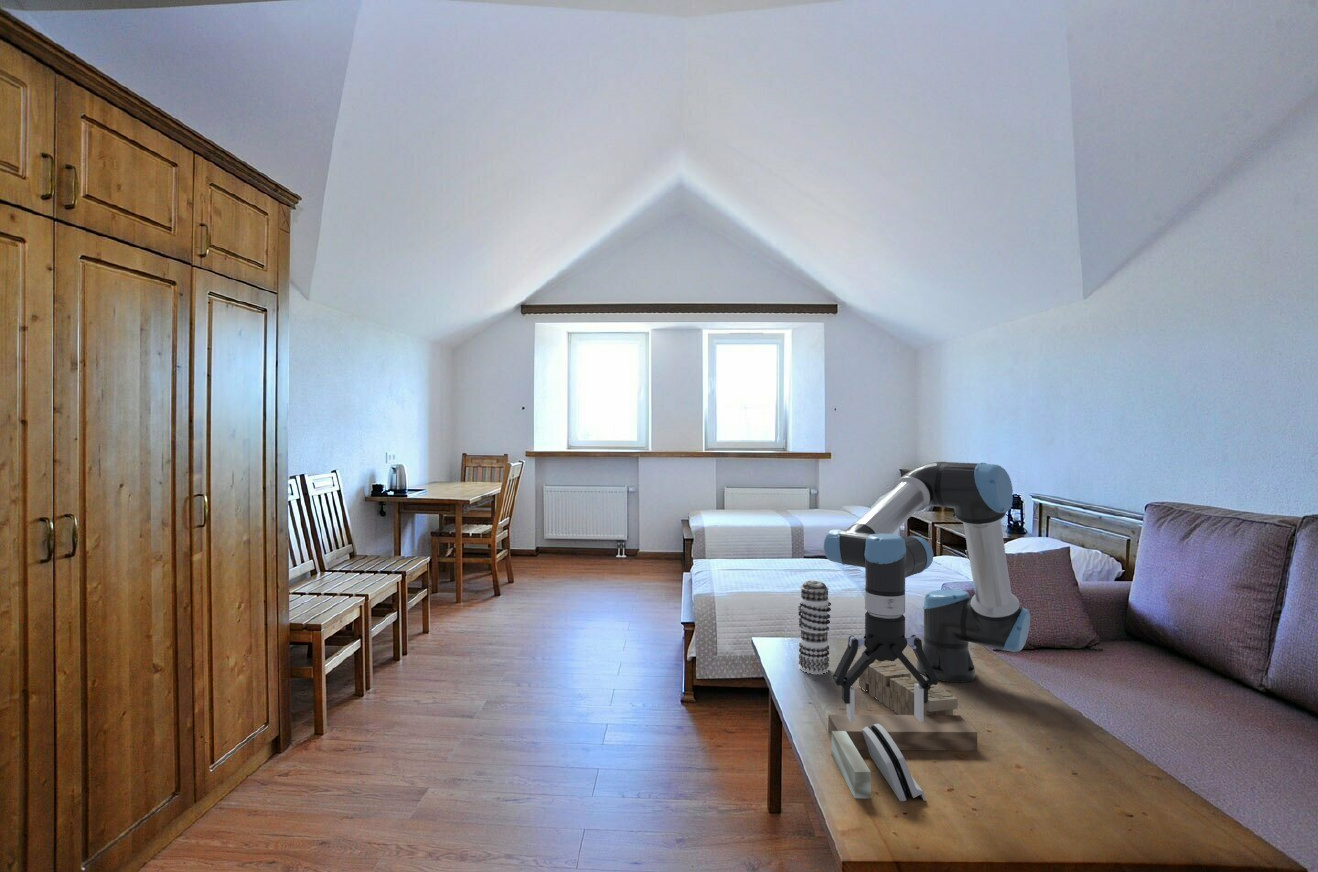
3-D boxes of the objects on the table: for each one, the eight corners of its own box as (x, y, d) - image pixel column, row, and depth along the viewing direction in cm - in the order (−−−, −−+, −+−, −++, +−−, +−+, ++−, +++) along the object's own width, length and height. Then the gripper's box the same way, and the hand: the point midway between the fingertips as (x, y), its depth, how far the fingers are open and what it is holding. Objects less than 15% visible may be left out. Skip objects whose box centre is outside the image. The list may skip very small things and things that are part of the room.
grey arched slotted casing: (927, 801, 118) (909, 751, 118) (903, 810, 118) (885, 760, 118) (893, 755, 134) (877, 711, 134) (872, 763, 134) (856, 718, 134)
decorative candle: (834, 675, 178) (835, 586, 178) (801, 675, 178) (802, 586, 178) (826, 663, 187) (826, 578, 187) (794, 663, 187) (795, 578, 187)
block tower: (855, 689, 171) (929, 736, 143) (855, 658, 171) (929, 699, 143) (880, 686, 173) (958, 732, 145) (880, 655, 174) (958, 695, 145)
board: (959, 732, 145) (959, 711, 144) (1025, 799, 119) (1025, 773, 118) (819, 732, 145) (819, 710, 145) (854, 798, 119) (854, 772, 119)
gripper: (827, 619, 122) (827, 728, 122) (956, 618, 122) (956, 727, 122) (817, 607, 129) (817, 710, 130) (939, 607, 129) (938, 709, 130)
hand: (884, 719), depth 126 cm, fingers open, 13 cm apart
